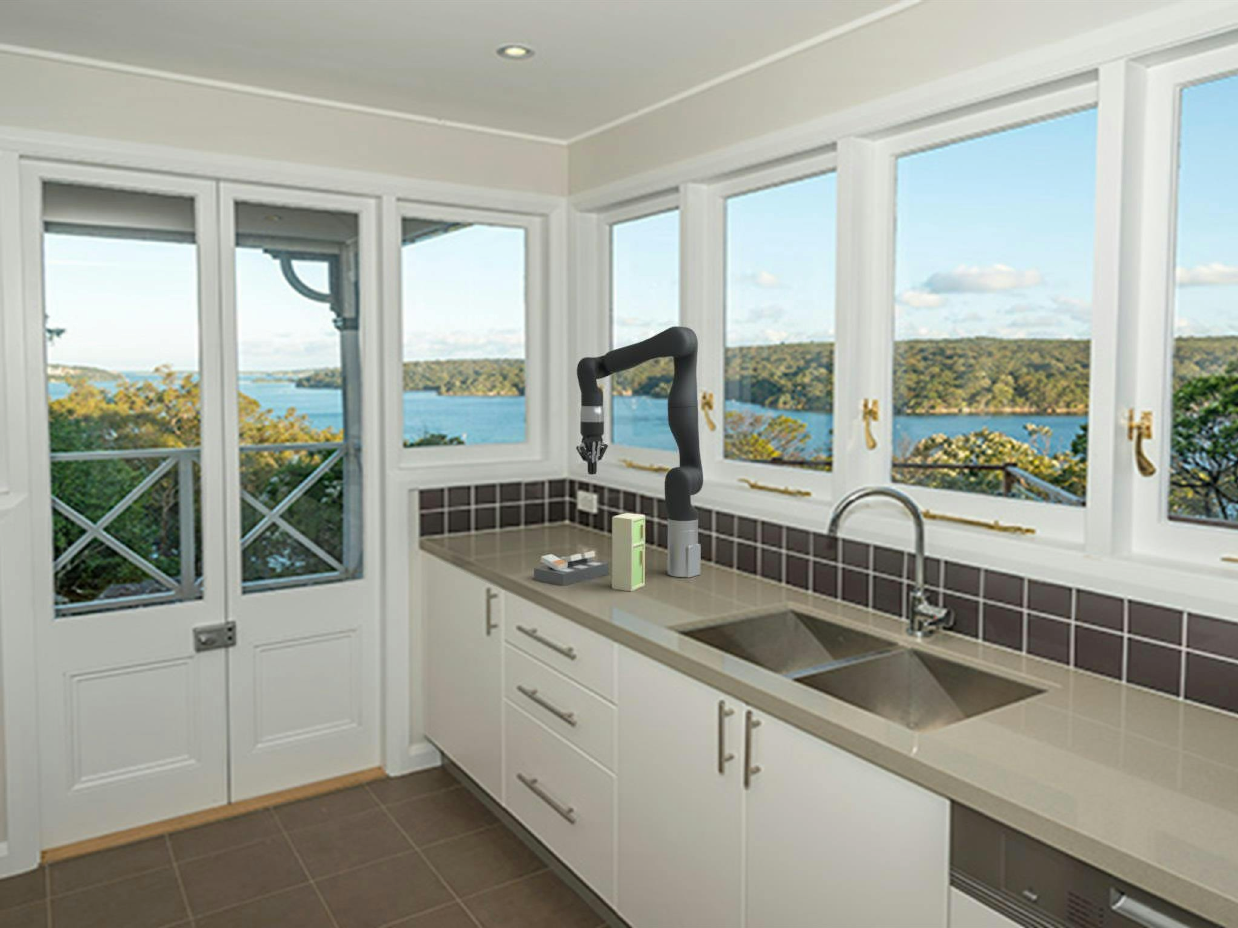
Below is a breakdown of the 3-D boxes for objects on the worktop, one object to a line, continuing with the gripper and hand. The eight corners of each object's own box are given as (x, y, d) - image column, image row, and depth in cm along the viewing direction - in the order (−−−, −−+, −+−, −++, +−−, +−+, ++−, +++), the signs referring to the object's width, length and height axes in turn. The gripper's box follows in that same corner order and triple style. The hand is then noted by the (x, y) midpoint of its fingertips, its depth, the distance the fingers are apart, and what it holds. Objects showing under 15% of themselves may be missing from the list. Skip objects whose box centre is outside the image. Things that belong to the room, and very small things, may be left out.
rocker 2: (595, 556, 288) (594, 550, 288) (585, 558, 285) (584, 552, 285) (579, 558, 293) (578, 553, 293) (569, 561, 290) (568, 555, 290)
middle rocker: (581, 558, 284) (580, 553, 284) (571, 561, 280) (570, 555, 281) (565, 562, 288) (564, 556, 288) (555, 564, 285) (554, 558, 285)
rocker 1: (567, 568, 280) (568, 562, 279) (556, 570, 276) (557, 564, 276) (550, 558, 284) (551, 553, 283) (540, 561, 281) (541, 555, 280)
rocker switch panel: (617, 572, 291) (617, 558, 290) (562, 585, 273) (562, 571, 272) (588, 566, 298) (588, 553, 298) (534, 579, 280) (534, 565, 280)
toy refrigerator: (633, 592, 265) (633, 518, 263) (611, 588, 269) (611, 516, 267) (647, 586, 272) (647, 514, 270) (625, 583, 276) (625, 512, 273)
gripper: (586, 421, 292) (586, 476, 294) (614, 419, 302) (614, 473, 304) (569, 420, 297) (569, 475, 299) (597, 418, 307) (597, 471, 309)
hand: (592, 474), depth 301 cm, fingers closed
